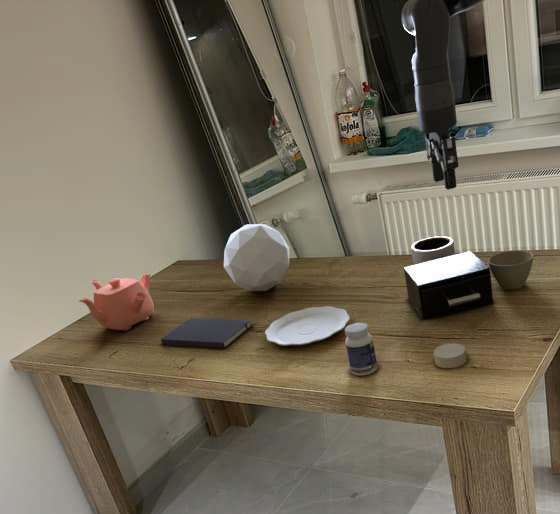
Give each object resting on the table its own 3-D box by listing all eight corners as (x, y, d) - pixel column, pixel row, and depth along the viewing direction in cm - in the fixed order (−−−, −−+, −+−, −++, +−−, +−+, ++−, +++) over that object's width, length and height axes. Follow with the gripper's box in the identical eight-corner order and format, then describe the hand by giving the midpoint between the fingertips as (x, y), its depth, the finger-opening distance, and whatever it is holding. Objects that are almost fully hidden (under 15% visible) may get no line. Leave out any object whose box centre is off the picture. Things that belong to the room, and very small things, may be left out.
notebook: (162, 344, 181) (225, 348, 169) (160, 339, 180) (223, 342, 169) (190, 323, 190) (252, 325, 178) (189, 318, 189) (251, 319, 178)
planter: (408, 286, 177) (403, 251, 173) (425, 270, 184) (421, 236, 180) (448, 287, 171) (443, 251, 166) (464, 270, 178) (460, 235, 174)
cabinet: (493, 302, 157) (489, 268, 153) (422, 319, 158) (417, 285, 154) (473, 283, 169) (470, 251, 165) (408, 299, 170) (403, 267, 166)
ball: (252, 312, 205) (202, 268, 203) (291, 267, 212) (243, 223, 209) (271, 295, 187) (216, 246, 185) (313, 247, 194) (261, 198, 191)
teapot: (93, 342, 194) (76, 298, 188) (105, 318, 211) (89, 276, 205) (154, 327, 193) (139, 282, 187) (161, 304, 210) (147, 262, 204)
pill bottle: (381, 371, 140) (373, 328, 136) (354, 379, 140) (346, 336, 136) (373, 360, 145) (365, 318, 141) (348, 367, 145) (339, 326, 141)
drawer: (500, 310, 151) (498, 281, 148) (432, 326, 151) (428, 298, 148) (474, 284, 166) (472, 258, 163) (413, 299, 167) (409, 273, 164)
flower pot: (534, 292, 157) (532, 263, 154) (489, 295, 161) (486, 267, 158) (535, 275, 165) (533, 247, 162) (492, 279, 169) (489, 252, 166)
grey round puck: (461, 350, 140) (459, 340, 139) (470, 363, 135) (469, 353, 134) (431, 358, 141) (430, 347, 140) (440, 371, 135) (438, 360, 134)
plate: (254, 351, 163) (252, 345, 163) (284, 314, 180) (283, 308, 179) (335, 349, 155) (334, 342, 154) (360, 309, 171) (358, 303, 170)
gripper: (465, 103, 130) (473, 186, 137) (443, 97, 143) (452, 174, 150) (426, 112, 130) (437, 196, 137) (408, 106, 143) (418, 182, 150)
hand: (444, 184), depth 144 cm, fingers open, 8 cm apart
